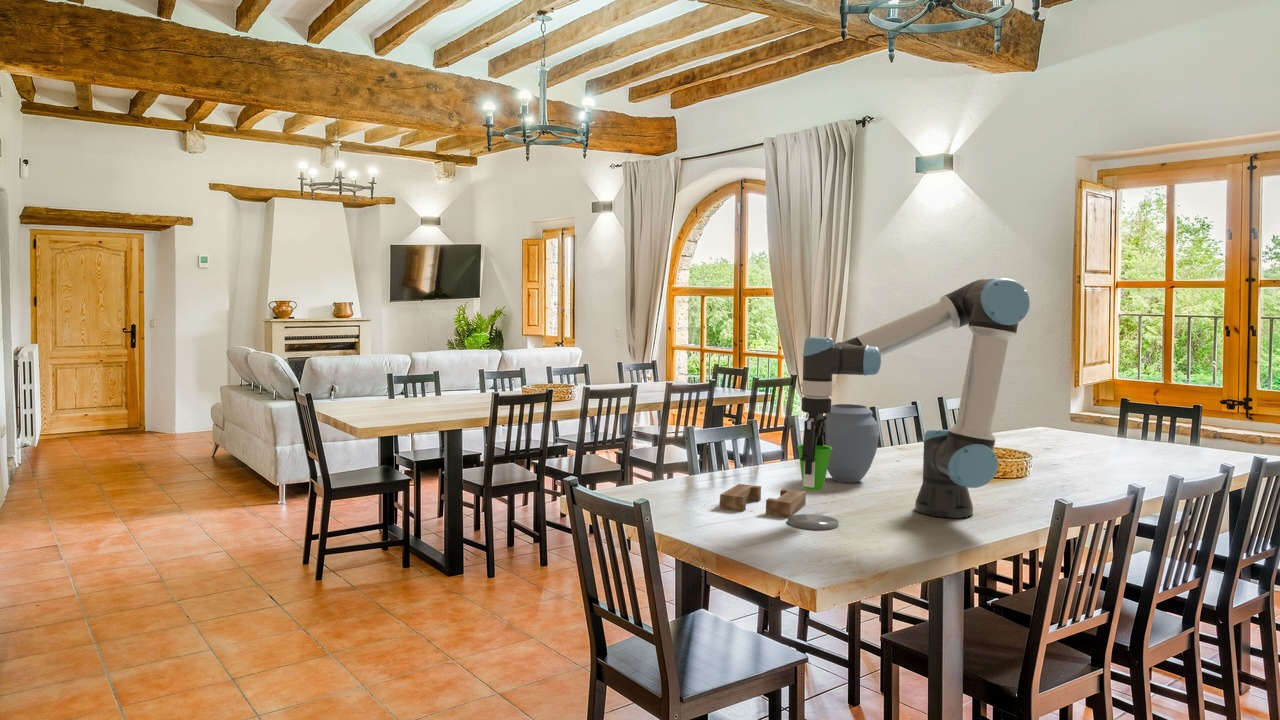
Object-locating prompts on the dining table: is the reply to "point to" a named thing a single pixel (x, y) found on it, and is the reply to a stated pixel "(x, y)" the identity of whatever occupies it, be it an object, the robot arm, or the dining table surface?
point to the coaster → (813, 522)
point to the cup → (817, 465)
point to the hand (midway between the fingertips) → (813, 483)
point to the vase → (851, 441)
